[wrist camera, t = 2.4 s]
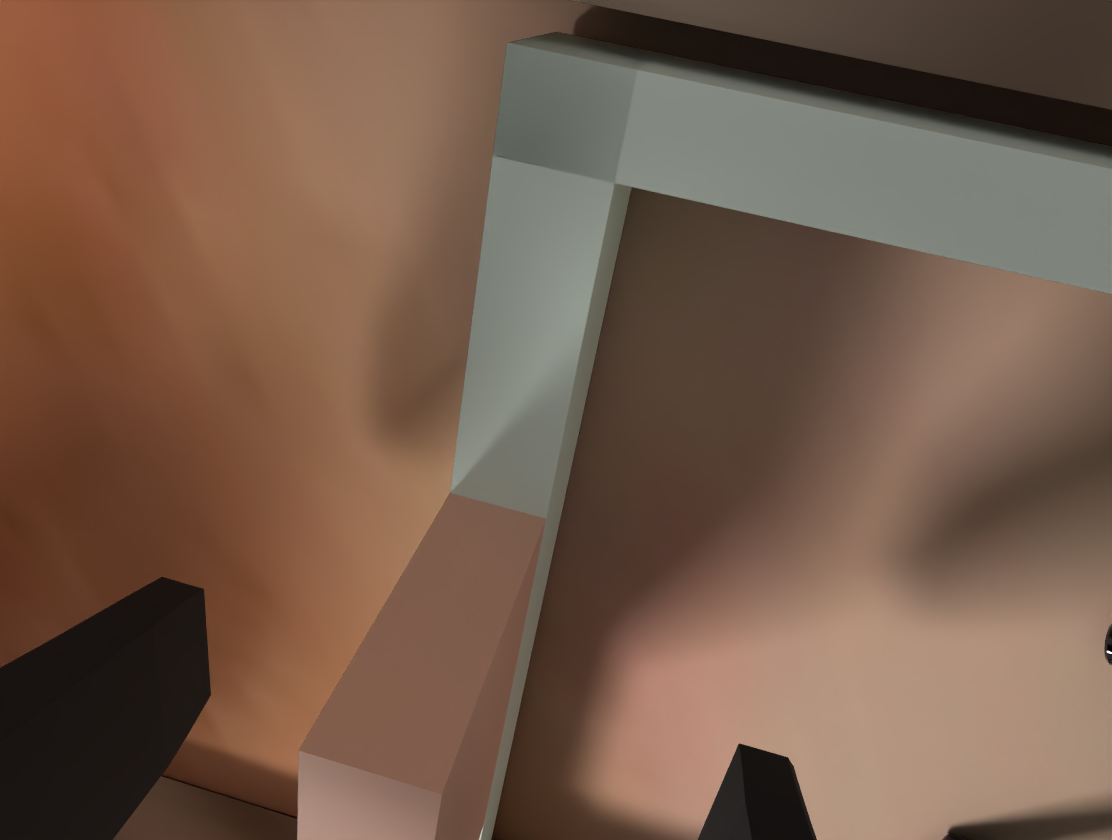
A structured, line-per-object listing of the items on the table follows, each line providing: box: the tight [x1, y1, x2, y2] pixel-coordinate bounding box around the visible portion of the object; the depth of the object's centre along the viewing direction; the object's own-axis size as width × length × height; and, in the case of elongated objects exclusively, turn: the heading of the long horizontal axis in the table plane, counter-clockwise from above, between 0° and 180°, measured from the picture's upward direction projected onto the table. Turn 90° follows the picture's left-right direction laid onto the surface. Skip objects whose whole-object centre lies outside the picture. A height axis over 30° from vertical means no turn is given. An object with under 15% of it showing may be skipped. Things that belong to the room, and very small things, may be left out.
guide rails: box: [113, 0, 1112, 840], centre depth 12 cm, size 29×18×2 cm, turn 80°
